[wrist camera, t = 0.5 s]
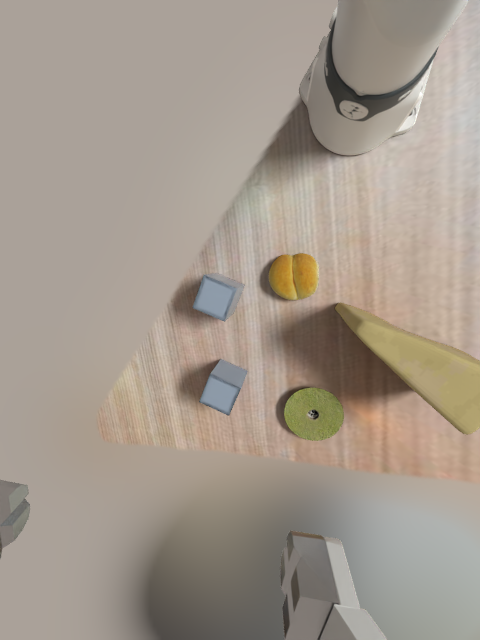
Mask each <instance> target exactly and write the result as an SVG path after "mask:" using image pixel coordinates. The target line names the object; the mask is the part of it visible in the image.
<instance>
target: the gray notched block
mask: <svg viewBox="0 0 480 640" xmlns="http://www.w3.org/2000/svg"><path fill="white" fill-rule="evenodd" d="M244 286H245V285H244V284H242V283H240V282H237V281H235V280H232V279H230V278H228V277H225V276H223V275H220V274H218V273H212V274H206V275H204V276H203V279H202V282H201V285H200V288H199V290H198V293H197V296H196V299H195V302H194V305H193V308H194V309H196V310H199V311H201V312H203V313H206V314H208V315H210V316H213V317H215V318H217V319H220V320H222V321H224V322H225V321H226V320H227V319H228V318H229V317H230V316H231V315H232V314H233V313H234V311H235V309H236V306H237V304H238V301H239V299H240V296H241V293H242V291H243V288H244Z"/></svg>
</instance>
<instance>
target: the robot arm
mask: <svg viewBox="0 0 480 640" xmlns="http://www.w3.org/2000/svg"><path fill="white" fill-rule="evenodd" d="M468 1H469V0H338V6H337V8H336V9H335V11H334V13H333V16H332V18H331V21H330V24H329V28H330V29H331V31H330V33H329V34H328V36H327V37H324V38H323V39H322V41H321V44H320V46H319V49H320V50H319V52H318V54H317V55H316V57H315V59H314V61H313V62H312V64H311V66H310V68H309V69H308V71H307V73H306V75H305V76H304V78H303V80H302V82H301V84H300V88H299V94H300V96H301V98H302V100H303V102H304V103H305V105H306V106H307V109H308V113H309V120H310V125H311V128H312V131H313V133H314V135H315V137H316V138H317V140H318V141H319V142H320V143H321V144H322V145H323V146H324V147H325V148H327V149H328V150H330V151H332V152H334V153H337V154H341V155H358V154H362V153H365V152H368V151H370V150H372V149H374V148H376V147H377V146H379V145H380V144H382V143H383V142H384V141H386V140H387V139H389V138H390V137H392V136H396V135H400V134H403V133H406V132H408V131H409V130H410V129H411V128H412V127H413V126H414V124H415V122H416V119H417V115H418V112H419V108H420V105H421V101H422V98H423V94H424V91H425V87H426V84H427V80H428V77H429V73H430V70H431V66H432V63H433V59H434V57H435V55H436V52H437V49H438V47H439V45H440V43H441V42H442V40H443V39H444V38H445V36H446V35H447V33H448V32H449V30H450V29H451V27H452V26H453V24H454V23H455V21H456V20H457V18H458V17H459V16H460V14H461V13H462V11H463V10H464V8H465V6H466V5H467V3H468ZM309 80H310V82H309ZM410 113H411V116H409V114H410ZM27 495H28V487H27V485H23V484H18V483H13V482H7V481H3V480H0V558H1V553H2V548H4V547H5V546H7V545H8V544H10V543H11V542H13V541H14V540H15V539H16V538H17V537H18V535H19V534H20V533H21V531H22V530H23V528H24V526H25V524H26V522H27V520H28V517H29V513H30V504H29V503H28V502H27V501H26V499H25V497H26V496H27ZM280 579H281V589H282V591H283V592H284V594H285V596H286V598H285V601H284V604H283V607H282V610H283V624H284V637H285V640H387V638H386V637H385V635H384V634H383V633H382V631H381V630H380V629H379V627H378V626H377V625H376V623H375V622H374V620H373V619H372V618H371V616H370V615H369V613H368V612H367V611H366V610H365V609H361V608H360V606H359V602H358V599H357V595H356V591H355V588H354V584H353V581H352V577H351V574H350V570H349V566H348V563H347V560H346V556H345V552H344V549H343V545H342V543H341V541H340V540H339V539H336V538H330V537H323V536H321V535H315V534H308V533H302V532H295V531H290V532H289V533H288V536H287V547H286V548H284V549H283V553H282V557H281V566H280Z"/></svg>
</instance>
